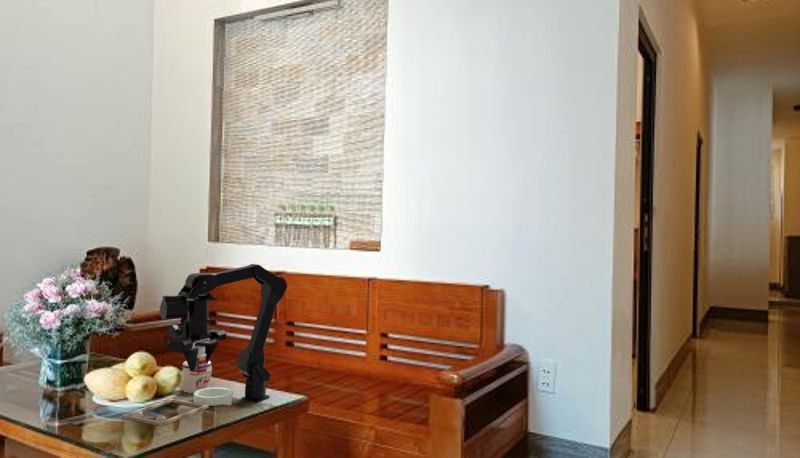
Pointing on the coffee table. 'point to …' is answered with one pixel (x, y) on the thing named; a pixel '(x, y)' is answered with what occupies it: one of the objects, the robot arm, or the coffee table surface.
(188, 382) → the teacup with lid
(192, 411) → the tray
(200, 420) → the coffee table surface
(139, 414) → the pebble
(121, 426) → the coffee table surface
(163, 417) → the pebble
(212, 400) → the bowl
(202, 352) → the pill bottle
